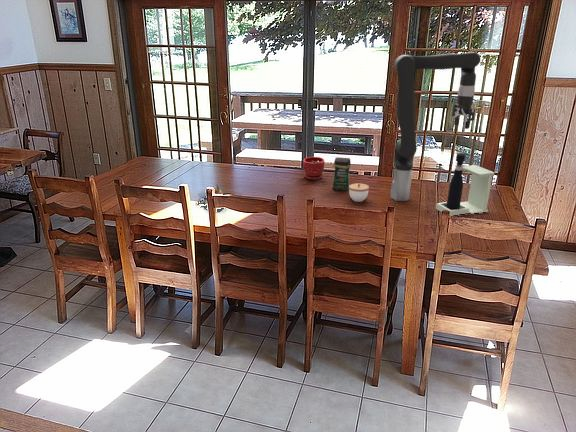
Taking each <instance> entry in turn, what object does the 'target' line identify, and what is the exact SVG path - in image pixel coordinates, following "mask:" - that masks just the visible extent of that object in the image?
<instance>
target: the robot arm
mask: <svg viewBox="0 0 576 432" xmlns="http://www.w3.org/2000/svg"><path fill="white" fill-rule="evenodd" d="M480 63H481V56H480V54H478V53H477V52H475V51H467V52H466V53H465V52H464V53H444V54H432V55H420V56H419V55H409V54H401V55H399V56H397V58H396V59H395V61H394V63H393V65H394V69H395V71H396V73H397V79H398V82H397V83H398V89H397V95H396V103H395V105H396V107H395V108H396V110H395V111H396V112H395V113H396V119H397V123H398V126H399V130H400V138H399V139H398V140H397V141H396V143H395V145H394V156H393V159H394V160H393V162H394V171H393V180H392V181H391V187H390V198H391V199H392V200H393V201H395V202H397V201H398V202H406V201H409V200H410V195H411V185H412V183H411V182H412V173H413V165H414V164H413V162H412V158H413V157H414V156H415V155H416V153H417V139H416V132H415V131H416V129H415V128H416V99H415V88H414V87H415V82H414V81H415V71H418V70H452V69H460V81H459V87H458V91H457V99H456V104H453V107H452V113H451V116H452V117H453V118H454V119H453V120H454V122H453V125H454V126H459V123H460V117H461V116H463V118H464V119H465V122H464V129H465V130H467V129H468V130H469V128H470V125H471V122H472V121H474V120H475V114H476V107H471V106H472V105H473V103H474V98H475V91H476V90H475V89H476V87H475V86H476V81H477V80H476V79H477V74H476V72H475V71H476V67H478V65H480Z"/></svg>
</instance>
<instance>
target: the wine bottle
mask: <svg viewBox="0 0 576 432" xmlns="http://www.w3.org/2000/svg"><path fill="white" fill-rule="evenodd" d="M465 158H466V154H464V153H457V154H456V158H455V162H456V165H455V168H454V170H453V176H452V178H451V180H450V181H449V187H448V193H447V194H448V195H447V201H446V202H447V206H446V208H448V209H450V210H455V209H460V202H462V194H463V189H464V178H463V171H464V170H462V168H463V167H462V166H463V163H464V162H465Z"/></svg>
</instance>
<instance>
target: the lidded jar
mask: <svg viewBox="0 0 576 432" xmlns="http://www.w3.org/2000/svg"><path fill="white" fill-rule="evenodd" d="M369 189H370V187H369V185H368V184H364V183H360V182H359V183H357V182H355V183H352V184H349V189H348V194H349V197H350V198H351V199H352V201H354V202H356V203H357V202H360V203H361V202H363V201H364V200H366V198H367V197H368V195H369Z"/></svg>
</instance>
